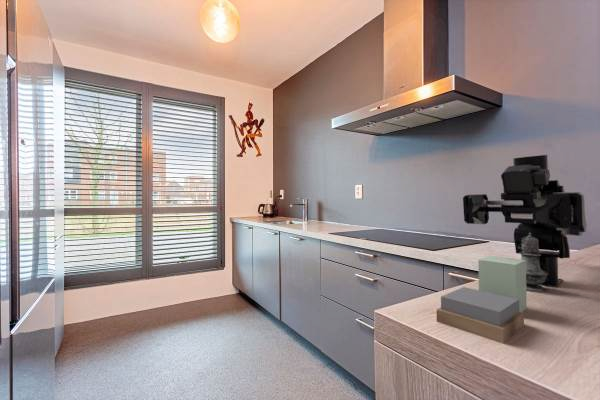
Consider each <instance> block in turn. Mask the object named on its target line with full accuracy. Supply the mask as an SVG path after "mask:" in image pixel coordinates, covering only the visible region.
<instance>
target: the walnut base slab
mask: <svg viewBox="0 0 600 400" xmlns="http://www.w3.org/2000/svg"><path fill="white" fill-rule="evenodd" d="M436 322H437V323H440V324H443V325H445V326H449V327H452V328H455V329H458V330H461V331H464V332H468V333H470V334H474V335H476V336H479V337H482V338H486V339H488V340H491V341H494V342H497V343H500V344H504V343H506V342H507V341H508V340H509V339H511V337H513V336H514V335H515V334H516V333H517V332H518V331H519V330H520V329H521V328H522V327H524V326H525V311H523V312H520V311H519V313H518V314H516V315H515V316H514V317H512V318H511V319H509V320H508V321H507V322H505V323H504V324H503V325H501V326H500V327H499V326H496V325H492V324H489V323H486V322H482V321H479V320H476V319H472V318H469V317H466V316H462V315H459V314H456V313H452V312H449V311H446V310H442V309H441V306H440V307H439V308H437V309H436Z"/></svg>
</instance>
